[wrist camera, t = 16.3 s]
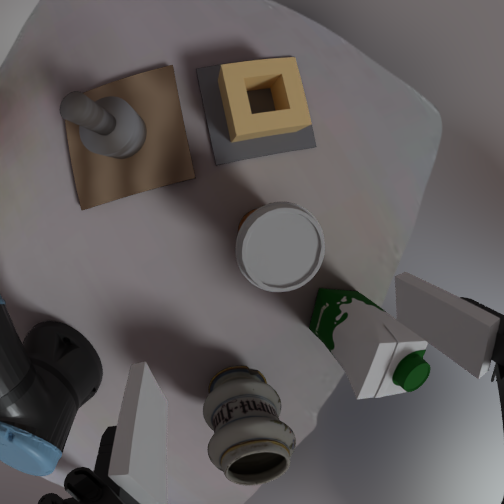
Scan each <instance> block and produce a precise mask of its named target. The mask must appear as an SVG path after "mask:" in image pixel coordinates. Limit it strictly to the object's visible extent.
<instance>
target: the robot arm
mask: <svg viewBox="0 0 504 504" xmlns="http://www.w3.org/2000/svg"><path fill="white" fill-rule="evenodd" d="M395 287H396V308H397V321H399V322H400V323H401V324H403V325H404V326H406V327H407V328H408V329H410V330H411V331H413V332H414V333H415V334H417V335H418V336H420V337H421V338H423V339H424V340H425V341H427V342H428V343H429V344H431V345H432V346H434V347H435V348H437V349H438V350H439V351H441V352H442V353H443V354H445V355H446V356H447V357H449V358H450V359H452V360H453V361H454V362H456V363H457V364H458V365H460V366H461V367H463V368H464V369H465V370H467V371H468V372H469V373H471V374H472V375H473V376H475V377H476V378H477V379H479V378H480V377H481V376H483V375H484V374H485V373H486V372H487V371H488V370H489V367H490V363H491V360H493V361H494V362H496V365H495V368H494V371H493V375H492V378H491V382H493V381H494V377H495V376H496V378H497V380H496V381H497V383H498V390H499V396H500V403H501V411H502V420H503V430H504V315H502V314H500V313H498V312H496V311H494V310H492V309H490V308H488V307H485V306H484V305H482V304H479V303H478V302H476V301H474V300H472V299H469V298H464V297H460V298H459V297H457V296H455V295H453V294H451V293H449V292H447V291H445V290H443V289H441V288H439V287H436V286H434V285H432V284H430V283H428V282H426V281H424V280H422V279H420V278H418V277H415V276H413V275H411V274H409V273H406V272H404V273H402V274H399V275H397V276H395ZM5 304H6V303H5V301H4V299H2V297H1V294H0V460H1V461H2V462H4V463H6V464H7V465H9V466H11V467H13V468H15V469H17V470H19V471H21V472H24V473H27V474H30V475H35V476H46V475H49V474H51V473H52V472H53V471H54V469H55V467H56V465H57V463H58V460H59V459H60V458H61V456H62V452H63V449H64V446H65V443H66V440H67V437H68V435H69V432H70V429H71V426H72V424H73V421H74V418H75V416H76V413H77V411H78V409H79V408H80V407H81V406H82V405H83V404H85V403H86V402H87V401H88V400H89V399H90V398H92V397H93V396H94V395H95V393H96V392H97V390H98V388H99V386H100V383H101V381H102V376H103V369H102V364H101V361H100V358H99V356H98V354H97V352H96V351H95V349H94V348H93V346H92V345H91V344H90V343H89V341H88V340H87V339H86V338H85V337H84V336H82V335H81V334H80V333H79V332H77V331H76V330H74V329H73V328H71V327H69V326H67V325H65V324H62V323H59V322H53V321H46V322H42V323H39V324H37V325H36V326H35V327H34V328H33V329H32V330H31V331H30V332H29V333H28V334H27V336H26V337H25V339H24V342H23V345H22V343H21V340H20V338H19V336H18V334H17V332H16V330H15V327H14V325H13V323H12V320H11V318H10V316H9V313H8V311H7V308H6V306H5ZM167 419H168V401H167V399H166V398H165V396H164V394H163V392H162V391H161V389H160V387H159V385H158V384H157V382H156V380H155V378H154V376H153V374H152V372H151V371H150V369H149V367H148V365H147V363H146V361H144V362H140V363H136V364H132V365H131V368H130V372H129V376H128V380H127V384H126V388H125V392H124V397H123V401H122V405H121V410H120V414H119V419H118V424H117V426H111V427H108V428H107V429H106V431H105V432H104V434H103V435H102V438H101V442H100V447H99V451H98V454H99V455H97V460H96V464H95V469H94V472H93V471H91V470H90V469H89V468H85V467H81V468H76V469H74V470H72V471H71V472H70V473H69V474H68V475H67V477H66V478H65V481H64V487H65V491H67V492H68V493H69V494H70V495H71V496H73V497H72V498H68V499H64V500H63V499H62V498H61V497H59V496H58V495H57V494H54V493H49V494H46V495H44V496H42V498H41V499H40V500H39V502H38V504H168V496H167ZM501 504H504V498H503V501H502V503H501Z"/></svg>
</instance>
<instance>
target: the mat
mask: <svg viewBox="0 0 504 504" xmlns="http://www.w3.org/2000/svg"><path fill="white" fill-rule="evenodd" d="M282 58H288V57H282ZM269 59H273V58H269ZM259 60H262V59H259ZM250 61H253V60H250ZM241 62H244V61H241ZM234 63H237V62H234ZM227 64H230V63H227ZM221 65H223V64H221ZM221 65H215V66H209V67H203V68H198V69H196V71H197V76H198V81H199V86H200V91H201V95H202V100H203V105H204V110H205V115H206V120H207V124H208V129H209V134H210V139H211V143H212V148H213V153H214V157H215V162H216V165H221V164H225V163H230V162H235V161H240V160H244V159H250V158H255V157H260V156H265V155H271V154H277V153H282V152H288V151H294V150H301V149H307V148H314V147H316V142H315V137H314V133H313V128H312V124H311V125H309V126H307V127H305V128H303V129H301V130H299V131H297V132H291V133H284V134H278V135H271V136H265V137H259V138H254V139H248V140H243V141H238V142H232V143H231V140H230V135H229V131H228V126H227V121H226V117H225V112H224V107H223V103H222V98H221V94H220V89H219V84H218V77H219V72H220V67H221ZM247 95H248V99H249V104H250V108H251V113H252V114H256V113H263V112H270V111H276V110H275V106H274V102H273V97H272V93H271V89H270V88H266V89H258V90H251V91H247Z"/></svg>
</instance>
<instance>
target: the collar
mask: <svg viewBox="0 0 504 504" xmlns="http://www.w3.org/2000/svg"><path fill="white" fill-rule="evenodd" d="M218 84H219V89H220V94H221V98H222V103H223V107H224V112H225V117H226V121H227V126H228V131H229V135H230V140H231V143H232V142H238V141H243V140H248V139H254V138H259V137H265V136H271V135H278V134H284V133H291V132H297V131H299V130H301V129H303V128H305V127H307V126H309V125H311V124H312V123H311V119H310V115H309V110H308V106H307V102H306V98H305V93H304V89H303V85H302V82H301V78H300V74H299V70H298V66H297V63H296V59H295V57H288V58H273V59H262V60H253V61H244V62H237V63H230V64H223V65H221V67H220V72H219V77H218ZM266 88H270V89H271V93H272V97H273V102H274V106H275V110H276V111H270V112H263V113H256V114H252V113H251V108H250V104H249V99H248V95H247V91H251V90H258V89H266Z"/></svg>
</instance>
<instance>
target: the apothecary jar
mask: <svg viewBox="0 0 504 504" xmlns="http://www.w3.org/2000/svg"><path fill="white" fill-rule="evenodd" d="M280 412H281V401H280V398H279V396H278V394H277V392H276V391H275V390H274V389H273V388H272V387H271V386H270V385H268V384H267V382H266V379H265V377H264V376H263V375H262V374H261V373H260V372H259V371H255V370H250V369H249V368H248V367H246V366H233V367H229V368H226V369H224V370H222V371H220V372H219V373H217V374H216V375H215V376H214V377H213V378H212V380H211V382H210V385H209V395H208V396H207V398H206V400H205V403H204V406H203V415H204V419H205V421H206V423H207V424H208V426H209V427H210V428H211V429H212V430H213V431H214V435H213V436H212V438H211V439H210V441H209V444H208V455H209V458H210V460H211V462H212V463H213V464H214V465H215V466H216V467H217V468H218V469H220V470H221V471H223V472H224V474H225V476H226V478H227V479H228V480H230V481H231V482H233V483H236V484H240V485H259V484H263V483H267V482H270V481H272V480H274V479H276V478H278V477H280V476H281V475H283V474H284V473H285V472H286V471H287V469H288V467H289V466H290V457H291V455H292V454H293V451H294V449H295V445H296V439H295V435H294V433H293V431H292V430H291V428H290V427H289V426H287V425H286V424H285V423H283V422H281V421H280V420H279V418H278V417H279V415H280Z"/></svg>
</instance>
